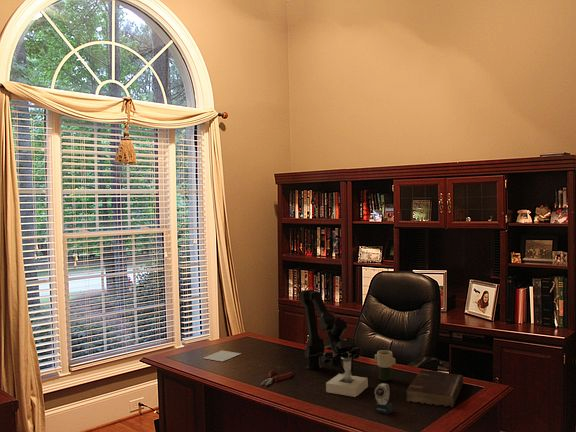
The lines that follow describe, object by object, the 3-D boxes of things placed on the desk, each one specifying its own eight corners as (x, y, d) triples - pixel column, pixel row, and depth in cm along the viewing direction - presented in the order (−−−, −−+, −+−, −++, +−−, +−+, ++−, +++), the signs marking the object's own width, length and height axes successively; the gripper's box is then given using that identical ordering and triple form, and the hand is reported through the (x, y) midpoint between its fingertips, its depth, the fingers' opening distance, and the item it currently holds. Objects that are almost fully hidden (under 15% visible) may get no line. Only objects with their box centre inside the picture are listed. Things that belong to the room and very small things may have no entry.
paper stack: (255, 356, 294) (255, 355, 294) (226, 369, 272) (226, 368, 272) (221, 351, 306) (221, 350, 306) (192, 363, 285) (191, 362, 285)
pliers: (252, 386, 248) (251, 380, 247) (273, 373, 265) (273, 368, 265) (273, 389, 242) (273, 383, 242) (293, 376, 260) (293, 371, 260)
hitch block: (339, 382, 248) (339, 373, 248) (367, 386, 241) (367, 377, 241) (326, 392, 236) (325, 383, 236) (355, 397, 229) (355, 387, 229)
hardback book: (453, 408, 215) (453, 396, 214) (406, 402, 223) (406, 390, 223) (463, 385, 241) (463, 374, 241) (421, 380, 249) (420, 369, 249)
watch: (372, 413, 210) (372, 386, 210) (381, 407, 217) (380, 380, 217) (386, 416, 207) (385, 388, 207) (394, 409, 214) (393, 382, 214)
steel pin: (341, 384, 241) (341, 355, 240) (352, 384, 240) (351, 355, 240) (342, 388, 236) (341, 358, 236) (352, 388, 236) (351, 358, 235)
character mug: (399, 380, 248) (399, 352, 248) (391, 384, 243) (390, 356, 243) (379, 375, 256) (378, 348, 255) (371, 379, 250) (370, 352, 250)
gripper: (322, 334, 238) (334, 366, 228) (359, 329, 245) (372, 360, 235) (315, 347, 245) (327, 379, 235) (351, 342, 252) (364, 372, 242)
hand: (348, 372), depth 237 cm, fingers closed on steel pin, 4 cm apart
